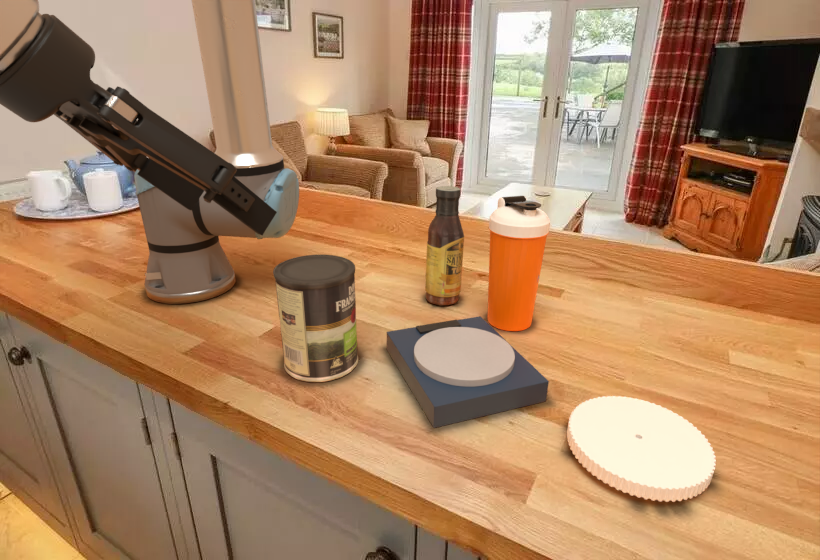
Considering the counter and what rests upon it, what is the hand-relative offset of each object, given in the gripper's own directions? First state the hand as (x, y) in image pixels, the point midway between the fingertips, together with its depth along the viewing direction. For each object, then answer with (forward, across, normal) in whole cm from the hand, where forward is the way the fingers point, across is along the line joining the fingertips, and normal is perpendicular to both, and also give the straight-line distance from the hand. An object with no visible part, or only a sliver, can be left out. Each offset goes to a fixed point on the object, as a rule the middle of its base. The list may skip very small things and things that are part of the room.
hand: (229, 210), depth 51 cm
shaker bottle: (+44, +14, +10) cm, 47 cm away
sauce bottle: (+44, +1, +10) cm, 45 cm away
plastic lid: (+31, +39, -2) cm, 50 cm away
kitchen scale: (+31, +16, -2) cm, 36 cm away
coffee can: (+24, 0, -9) cm, 26 cm away
